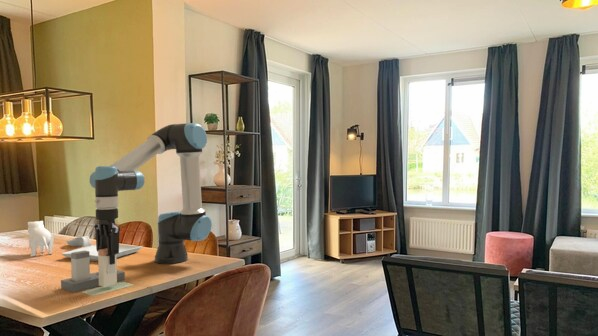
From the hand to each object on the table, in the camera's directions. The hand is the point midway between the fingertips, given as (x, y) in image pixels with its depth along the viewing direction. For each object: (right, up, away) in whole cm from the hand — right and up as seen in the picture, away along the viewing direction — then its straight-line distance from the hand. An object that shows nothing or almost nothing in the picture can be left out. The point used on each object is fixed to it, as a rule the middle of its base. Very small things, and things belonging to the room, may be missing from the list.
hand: (107, 272), depth 156 cm
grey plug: (-11, -6, +2) cm, 13 cm away
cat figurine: (-64, -7, +65) cm, 91 cm away
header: (-8, -7, +6) cm, 12 cm away
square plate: (-29, -7, +60) cm, 68 cm away
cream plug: (0, -5, 0) cm, 5 cm away
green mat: (0, -7, 0) cm, 7 cm away
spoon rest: (-52, -7, +83) cm, 98 cm away
